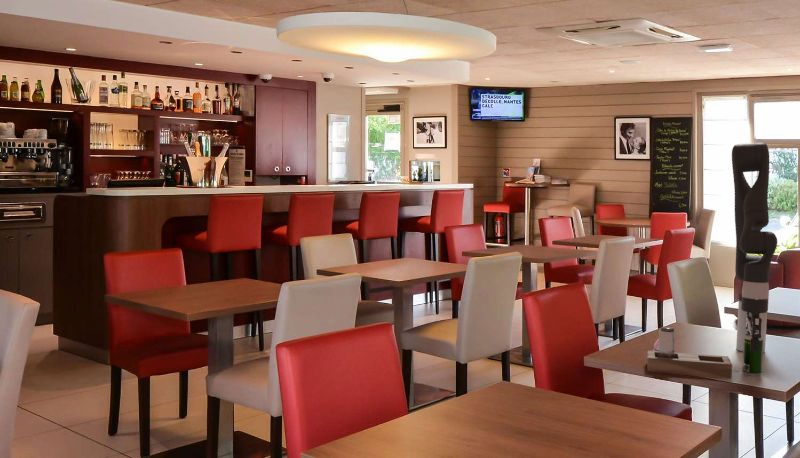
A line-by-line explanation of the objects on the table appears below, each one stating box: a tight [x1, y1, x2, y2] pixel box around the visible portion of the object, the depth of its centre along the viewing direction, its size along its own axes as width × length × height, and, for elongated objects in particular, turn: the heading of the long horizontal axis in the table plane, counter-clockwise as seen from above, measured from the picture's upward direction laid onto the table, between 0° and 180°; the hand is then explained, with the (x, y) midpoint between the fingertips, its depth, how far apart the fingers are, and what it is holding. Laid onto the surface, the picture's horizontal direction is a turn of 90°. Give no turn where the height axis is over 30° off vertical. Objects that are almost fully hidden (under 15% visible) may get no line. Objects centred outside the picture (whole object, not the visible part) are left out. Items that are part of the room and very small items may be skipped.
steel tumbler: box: [658, 326, 676, 359], centre depth 255 cm, size 5×5×13 cm
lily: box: [651, 338, 659, 351], centre depth 271 cm, size 12×12×10 cm
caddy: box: [646, 350, 733, 379], centre depth 253 cm, size 11×24×5 cm, turn 74°
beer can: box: [742, 334, 764, 377], centre depth 253 cm, size 5×5×12 cm
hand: (752, 348), depth 252 cm, fingers open, 8 cm apart
